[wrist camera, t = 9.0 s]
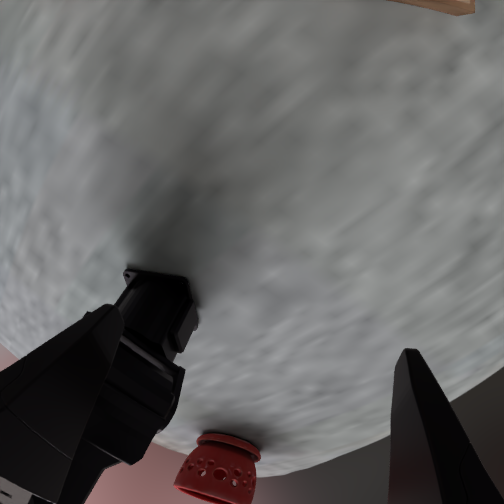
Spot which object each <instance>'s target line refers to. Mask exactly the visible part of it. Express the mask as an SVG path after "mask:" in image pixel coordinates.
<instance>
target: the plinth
mask: <svg viewBox="0 0 504 504" xmlns="http://www.w3.org/2000/svg"><path fill="white" fill-rule="evenodd" d="M388 1H394V2H399V3H405V4H410V5H415V6H419V7H424V8H428V9H432V10H436V11H440V12H444V13H447V14H451V15H454V16H460V15H466V14H472V13H475V0H388Z"/></svg>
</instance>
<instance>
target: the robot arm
mask: <svg viewBox="0 0 504 504" xmlns="http://www.w3.org/2000/svg"><path fill="white" fill-rule="evenodd" d="M123 276H124V278H125V281H126V284H127V287H126V289H125V290H124V291H123V293H122V294H121V296H120V297H119V298H118V300H117V301H116V303H115V304H114V305H112V304H104V305H102V306H101V307H99V308H98V309H96V310H95V311H93V312H88V311H87V312H86V314H85V315H84V316H83V318H82V319H81V320H79V321H77V322H76V323H74V324H73V325H71V326H70V327H68V328H67V329H65V330H64V331H62V332H61V333H59V334H57V335H56V336H54V337H53V338H51V339H50V340H48V341H47V342H45V343H44V344H42V345H41V346H39V347H38V348H36V349H35V350H33V351H32V352H30V353H29V354H27V356H24V357H23V358H21V359H20V360H18V361H17V362H15V363H14V364H12V365H11V366H9V367H7V368H6V369H4V370H2V371H1V372H0V504H84V503H85V501H86V499H87V498H88V496H89V494H90V493H91V491H92V489H93V488H94V486H95V484H96V482H97V481H98V479H99V477H100V476H101V474H102V473H103V471H104V470H105V469H107V468H109V467H111V466H114V465H116V464H119V463H121V462H124V463H126V464H128V465H133V464H135V463H136V462H138V461H139V460H140V459H142V458H143V456H144V454H145V452H146V450H147V448H148V446H149V444H150V443H151V441H152V439H153V437H154V436H155V434H157V433H160V432H161V431H162V430H163V429H164V428H165V427H166V426H167V425H168V424H169V422H170V421H171V419H172V417H173V416H174V414H175V411H176V409H177V405H178V401H179V397H180V392H181V388H182V383H183V379H184V375H185V369H184V368H182V367H181V366H177V365H176V364H174V363H173V361H174V359H175V356H176V354H177V353H182V352H183V351H184V349H185V347H186V345H187V343H188V341H189V338H190V336H191V334H192V332H193V331H196V330H197V328H198V323H197V321H198V317H197V312H196V308H195V303H194V301H193V299H192V296H191V291H190V286H189V282H188V280H187V279H186V278H184V277H180V276H173V275H167V274H160V273H153V272H147V271H140V270H134V269H125V271H124V272H123ZM388 504H504V499H503V498H502V496H501V494H500V493H499V491H498V489H497V488H496V487H495V484H494V483H493V481H492V480H491V478H490V476H489V475H488V473H487V471H486V470H485V468H484V466H483V465H482V463H481V461H480V459H479V457H478V455H477V453H476V451H475V449H474V448H473V445H472V443H470V440H469V438H468V436H467V434H466V432H465V430H464V428H463V427H462V425H461V423H460V421H459V419H458V417H457V416H456V414H455V412H454V410H453V408H452V407H451V405H450V403H449V401H448V399H447V397H446V396H445V394H444V392H443V390H442V389H441V387H440V385H439V384H438V382H437V380H436V378H435V377H434V375H433V373H432V372H431V370H430V368H429V367H428V365H427V363H426V362H425V360H424V358H423V357H422V355H421V354H420V352H419V351H418V350H417V349H412V348H405V349H404V350H403V351H402V353H401V355H400V357H399V359H398V361H397V363H396V366H395V371H394V385H393V397H392V408H391V446H390V476H389V492H388Z"/></svg>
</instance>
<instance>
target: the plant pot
mask: <svg viewBox="0 0 504 504" xmlns="http://www.w3.org/2000/svg"><path fill="white" fill-rule="evenodd" d="M196 442H197V445H198V447H197V448H196V449H194V450H193V451H192V452H191V453H190V454H189V456H188V457H187V458H186V460H185V462H184V463H183V465H182V467H181V469H180V471H179V473H178V475H177V477H176V480H175V482H174V487H175V488H176V489H178V490H180V491H181V492H184V493H186V494H188V495H190V496H193V497H195V498H198V499H201V500H204V501H207V502H210V503H214V504H251V502H252V499H253V495H254V492H255V485H256V468H255V464H254V463H255V462H258V461H260V459H261V455H260V452H259V451H258V449H257V448H256V447H254V446H253V445H251V444H250V443H249V442H248V441H245V440H241V439H239V438H236V437H232V436H229V435H224V434H217V433H209V434H204V435H202V436H200V437H199V438H198V439H197V441H196ZM204 471H206V474H205V475H204V476H201V474H202V472H204ZM224 477H226V478H225V479H224V480H223V478H224ZM233 481H235V482H236V486H234V485H233V483H232V482H233Z"/></svg>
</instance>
